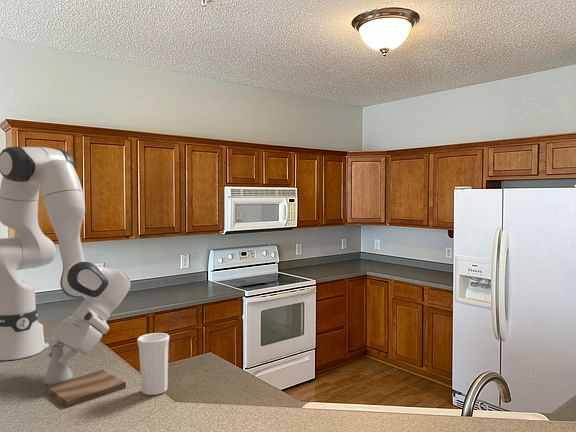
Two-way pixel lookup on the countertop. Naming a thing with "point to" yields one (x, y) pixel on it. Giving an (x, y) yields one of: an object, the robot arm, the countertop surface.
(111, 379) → the walnut board
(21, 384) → the countertop surface
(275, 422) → the countertop surface
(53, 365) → the flask
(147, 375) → the cup
